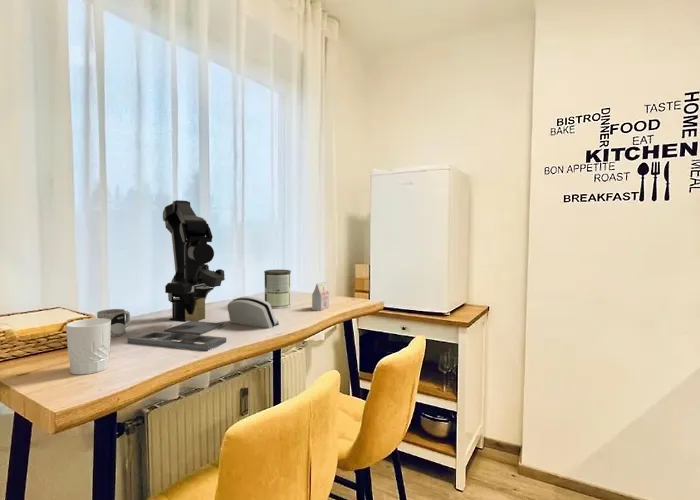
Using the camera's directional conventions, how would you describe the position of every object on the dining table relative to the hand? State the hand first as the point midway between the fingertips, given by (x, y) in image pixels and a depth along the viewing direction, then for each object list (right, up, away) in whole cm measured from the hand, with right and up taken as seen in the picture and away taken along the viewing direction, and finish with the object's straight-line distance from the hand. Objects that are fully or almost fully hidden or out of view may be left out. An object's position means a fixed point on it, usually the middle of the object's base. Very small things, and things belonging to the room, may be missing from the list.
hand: (195, 313), depth 117 cm
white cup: (-8, -6, -35) cm, 36 cm away
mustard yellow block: (0, -2, 0) cm, 2 cm away
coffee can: (+18, -4, +37) cm, 41 cm away
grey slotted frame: (+1, -5, -15) cm, 16 cm away
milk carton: (+35, -4, +32) cm, 48 cm away
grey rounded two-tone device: (+16, -5, +6) cm, 18 cm away
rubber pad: (0, -5, 0) cm, 5 cm away
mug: (-20, -5, -6) cm, 22 cm away
